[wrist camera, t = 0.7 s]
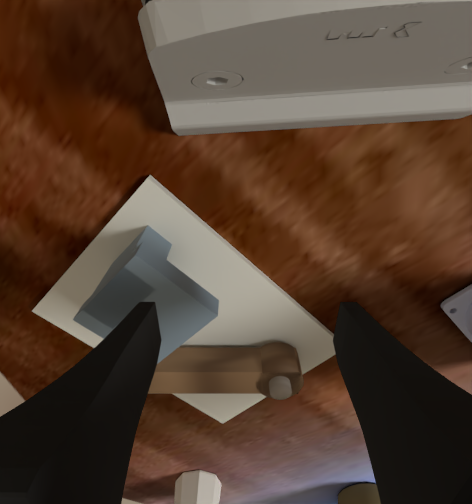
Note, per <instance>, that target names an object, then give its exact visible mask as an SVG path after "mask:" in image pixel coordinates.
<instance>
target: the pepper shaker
mask: <svg viewBox="0 0 472 504" xmlns="http://www.w3.org/2000/svg"><path fill="white" fill-rule="evenodd" d="M220 492H221V482H220V481H219V479H218V478H217V476H216V474H213V473H210V472H206V471H202V470H195V471H189V472H183V473H182V475H181V476H180V477H179V478H178V479H177V480H176V482H175V499H174V504H219V500H220Z"/></svg>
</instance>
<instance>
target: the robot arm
mask: <svg viewBox="0 0 472 504" xmlns="http://www.w3.org/2000/svg"><path fill="white" fill-rule="evenodd" d="M441 308H442V309H443V311H444V312H445V313H446V314H447V315H448V316H449V317H450V319H451V320H452V321H453V322H454V323H455V324H456V325H457V327H458V328H459V329H460V330H461V331H462V332H463V333H464V335H465V336H466V337H467V338H468V339H469V340H470V341H471V342H472V284H471V285H469V286H468V287H466V288H464V289H463V290H461V291H459V292H458V293H456V294H454V295H453V296H451V297H449V298H448V299H446V300H444V301H443V302H442V303H441ZM451 309H452V310H451ZM161 341H162V340H161V334H160V328H159V322H158V316H157V310H156V304H155V302H139V303H138V304H137V305H136V306H135V307H134V308H133V309H132V310H131V311H130V312H129V313H128V314H127V316H126V317H125V318H124V319H123V320H122V321H121V322H120V323H119V324H118V325H117V326H116V327H115V328H114V329H113V330H112V331H111V332H110V333H109V334H108V335H107V336H106V337H105V338H104V339H103V340H102V341H101V342H100V343H99V344H98V345H97V346H96V347H95V348H94V349H93V350H92V351H91V352H89V353H88V354H87V355H86V356H85V357H84V358H83V359H82V360H81V361H79V362H78V363H77V364H76V365H75V366H73V367H72V368H71V369H70V370H68V371H67V372H66V373H65V374H63V375H62V376H61V377H59V378H58V379H57V380H55V381H54V382H53V383H51V384H50V385H48V386H47V387H45V388H44V389H43V390H41V391H40V392H38V393H37V394H35V395H34V396H33V397H31V398H30V399H28V400H27V401H25V402H24V403H22V404H20V405H19V406H17V407H16V408H14V409H12V410H11V411H9V412H7V413H6V414H4V415H3V416H1V417H0V504H121V501H122V495H123V490H124V485H125V480H126V475H127V470H128V466H129V461H130V456H131V452H132V447H133V443H134V438H135V434H136V430H137V426H138V423H139V419H140V416H141V413H142V410H143V407H144V404H145V401H146V397H147V394H148V391H149V388H150V385H151V382H152V379H153V376H154V373H155V369H156V366H157V362H158V357H159V352H160V346H161ZM333 344H334V349H335V353H336V357H337V362H338V365H339V368H340V371H341V374H342V377H343V379H344V382H345V385H346V387H347V390H348V393H349V395H350V398H351V401H352V403H353V406H354V409H355V411H356V414H357V417H358V419H359V422H360V425H361V428H362V431H363V435H364V438H365V442H366V446H367V449H368V453H369V457H370V461H371V465H372V469H373V473H374V477H375V481H376V485H377V489H378V493H379V497H380V502H381V504H472V395H471V394H470V393H468V392H466V391H465V390H463V389H462V388H460V387H458V386H457V385H455V384H454V383H452V382H451V381H449V380H448V379H447V378H445V377H444V376H442V375H441V374H440V373H438V372H437V371H435V370H434V369H433V368H431V367H430V366H429V365H427V364H426V363H425V362H423V361H422V360H421V359H419V358H418V357H417V356H416V355H415V354H413V353H412V352H411V351H410V350H408V349H407V348H406V347H405V346H404V345H402V344H401V343H400V342H399V341H398V340H397V339H396V338H394V337H393V336H392V335H391V334H390V333H389V332H388V331H387V330H386V329H384V328H383V327H382V326H381V325H380V324H379V323H378V322H377V321H376V320H375V319H374V318H373V317H372V316H371V315H370V314H369V313H368V312H366V311H365V310H364V309H363V308H362V307H361V306H360V305H359V304H358V303H357V302H340V307H339V312H338V317H337V322H336V327H335V332H334V337H333Z"/></svg>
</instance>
